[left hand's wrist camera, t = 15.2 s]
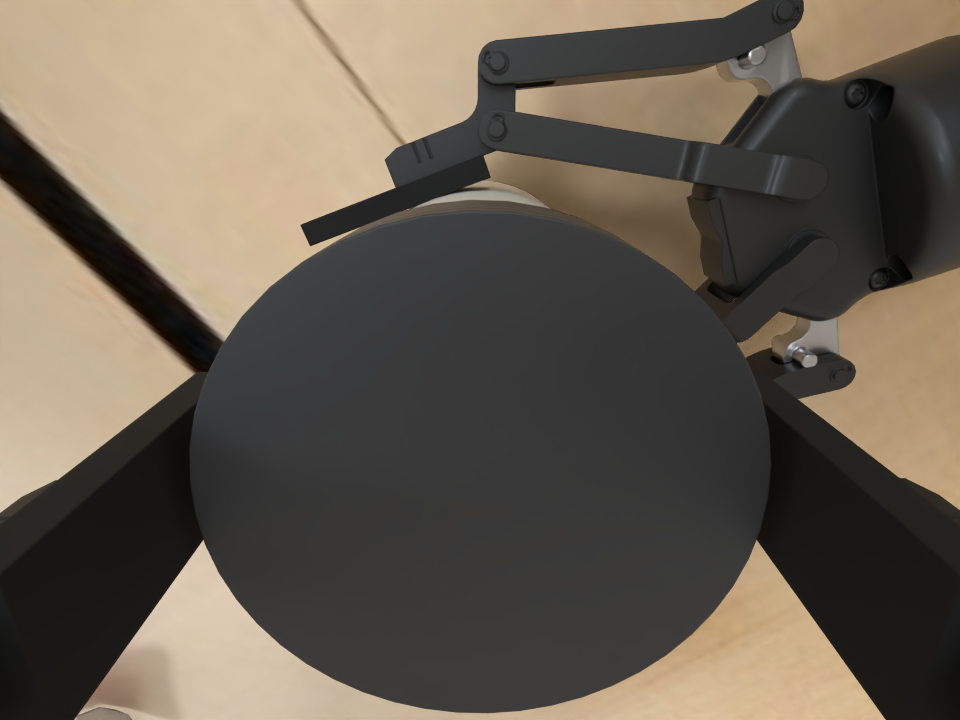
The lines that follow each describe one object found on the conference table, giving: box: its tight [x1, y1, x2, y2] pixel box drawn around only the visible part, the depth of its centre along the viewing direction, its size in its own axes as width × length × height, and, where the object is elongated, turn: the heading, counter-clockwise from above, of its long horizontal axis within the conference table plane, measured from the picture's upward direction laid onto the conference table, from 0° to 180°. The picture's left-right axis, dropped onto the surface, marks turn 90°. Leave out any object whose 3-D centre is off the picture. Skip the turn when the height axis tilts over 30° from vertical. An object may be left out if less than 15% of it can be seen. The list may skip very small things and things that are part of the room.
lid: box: [189, 200, 771, 713], centre depth 11 cm, size 10×10×2 cm
